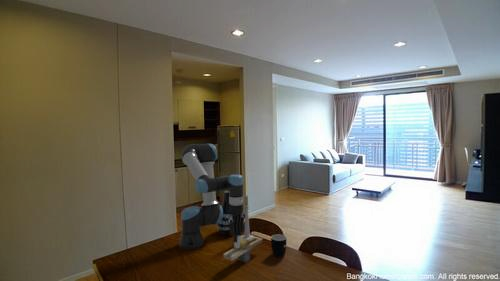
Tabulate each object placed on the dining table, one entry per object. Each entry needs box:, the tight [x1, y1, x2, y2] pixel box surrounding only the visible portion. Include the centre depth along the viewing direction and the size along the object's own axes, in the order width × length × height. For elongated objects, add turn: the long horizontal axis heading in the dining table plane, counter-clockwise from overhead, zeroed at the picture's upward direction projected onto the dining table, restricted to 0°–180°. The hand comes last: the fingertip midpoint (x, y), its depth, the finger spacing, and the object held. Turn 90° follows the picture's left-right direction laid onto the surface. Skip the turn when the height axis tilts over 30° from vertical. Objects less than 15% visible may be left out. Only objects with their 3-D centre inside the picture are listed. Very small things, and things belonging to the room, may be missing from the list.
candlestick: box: [240, 195, 255, 240], centre depth 171 cm, size 13×13×30 cm
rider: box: [240, 238, 250, 249], centre depth 144 cm, size 6×5×5 cm
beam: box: [222, 235, 264, 264], centre depth 145 cm, size 6×28×8 cm, turn 143°
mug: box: [270, 233, 287, 258], centre depth 152 cm, size 12×9×10 cm
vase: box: [215, 190, 231, 235], centre depth 184 cm, size 16×16×30 cm
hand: (237, 247), depth 140 cm, fingers closed
